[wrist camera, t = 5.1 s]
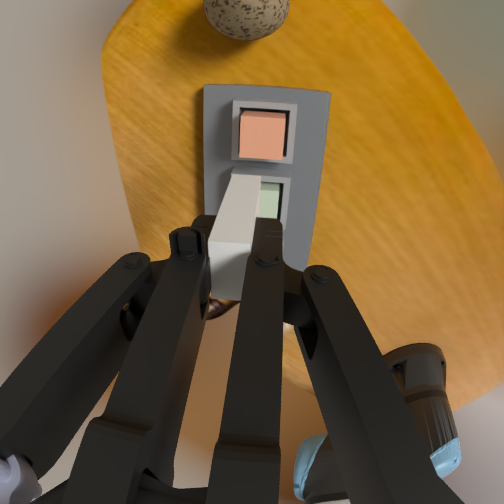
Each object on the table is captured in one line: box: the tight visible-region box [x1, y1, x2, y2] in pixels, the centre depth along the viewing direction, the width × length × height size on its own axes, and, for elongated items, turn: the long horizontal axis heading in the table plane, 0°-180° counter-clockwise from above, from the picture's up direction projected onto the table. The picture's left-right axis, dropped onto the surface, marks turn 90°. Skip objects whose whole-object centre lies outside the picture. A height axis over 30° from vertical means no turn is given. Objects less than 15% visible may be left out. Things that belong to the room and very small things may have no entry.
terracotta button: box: [239, 111, 286, 160], centre depth 26 cm, size 4×4×3 cm
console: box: [203, 84, 331, 272], centre depth 33 cm, size 22×12×4 cm, turn 178°
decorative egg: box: [203, 0, 289, 40], centre depth 20 cm, size 7×7×10 cm
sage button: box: [259, 181, 279, 219], centre depth 31 cm, size 4×4×3 cm
